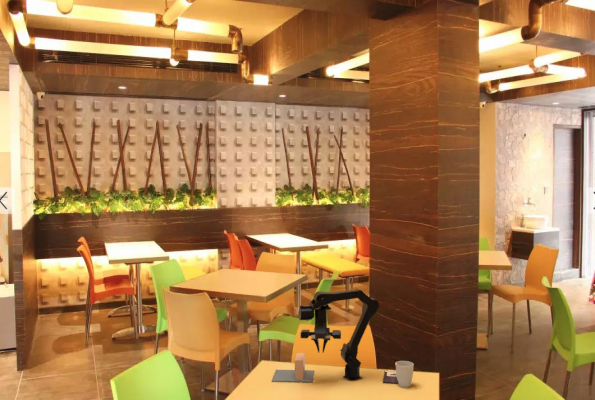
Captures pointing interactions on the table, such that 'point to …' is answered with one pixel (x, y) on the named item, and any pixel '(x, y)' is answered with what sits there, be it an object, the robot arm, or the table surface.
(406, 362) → the cup
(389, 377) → the chocolate bar
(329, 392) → the table surface
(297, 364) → the salmon pink block
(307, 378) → the mat
